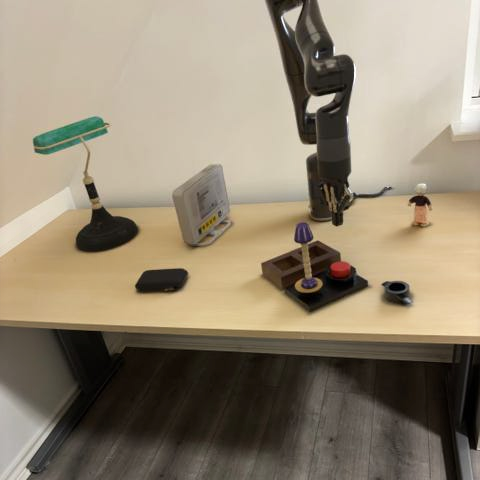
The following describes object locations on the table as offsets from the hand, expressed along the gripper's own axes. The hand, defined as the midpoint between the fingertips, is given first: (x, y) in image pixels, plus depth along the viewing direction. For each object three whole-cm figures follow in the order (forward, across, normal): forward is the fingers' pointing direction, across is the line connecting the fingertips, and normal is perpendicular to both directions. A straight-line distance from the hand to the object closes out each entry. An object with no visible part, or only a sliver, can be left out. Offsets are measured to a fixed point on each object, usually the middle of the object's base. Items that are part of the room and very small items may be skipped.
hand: (337, 224), depth 123 cm
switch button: (+14, 0, 0) cm, 14 cm away
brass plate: (+13, 0, +10) cm, 17 cm away
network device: (+17, +56, +13) cm, 60 cm away
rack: (+17, +13, +4) cm, 22 cm away
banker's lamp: (+17, +83, +43) cm, 95 cm away
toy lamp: (+13, 0, +10) cm, 17 cm away
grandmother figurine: (+17, +12, -38) cm, 43 cm away
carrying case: (+17, +34, +39) cm, 55 cm away
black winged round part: (+17, -14, -6) cm, 23 cm away
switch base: (+17, 0, +5) cm, 18 cm away
